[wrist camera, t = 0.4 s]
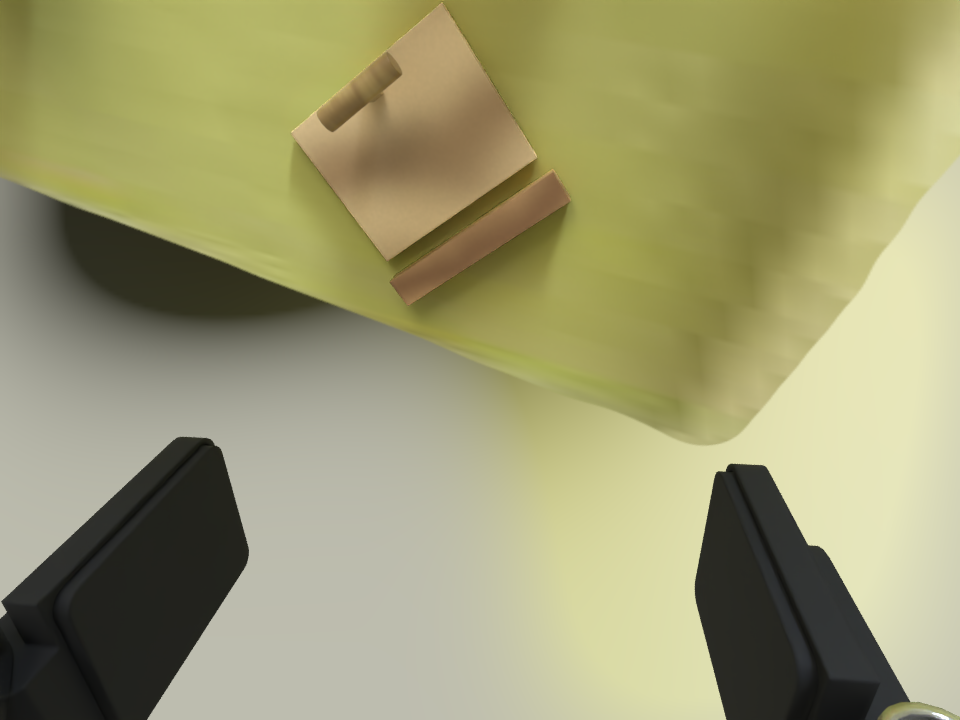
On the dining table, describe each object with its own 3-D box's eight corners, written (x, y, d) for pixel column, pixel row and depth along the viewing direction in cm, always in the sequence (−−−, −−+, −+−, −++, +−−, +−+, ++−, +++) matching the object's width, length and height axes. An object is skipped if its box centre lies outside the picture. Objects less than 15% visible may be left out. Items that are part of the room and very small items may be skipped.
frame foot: (395, 274, 47) (389, 282, 45) (553, 168, 41) (553, 172, 40) (412, 298, 47) (407, 306, 46) (570, 196, 42) (570, 201, 40)
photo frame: (294, 131, 42) (262, 139, 38) (444, 3, 37) (427, -6, 33) (389, 258, 46) (370, 279, 41) (537, 156, 41) (535, 167, 36)
